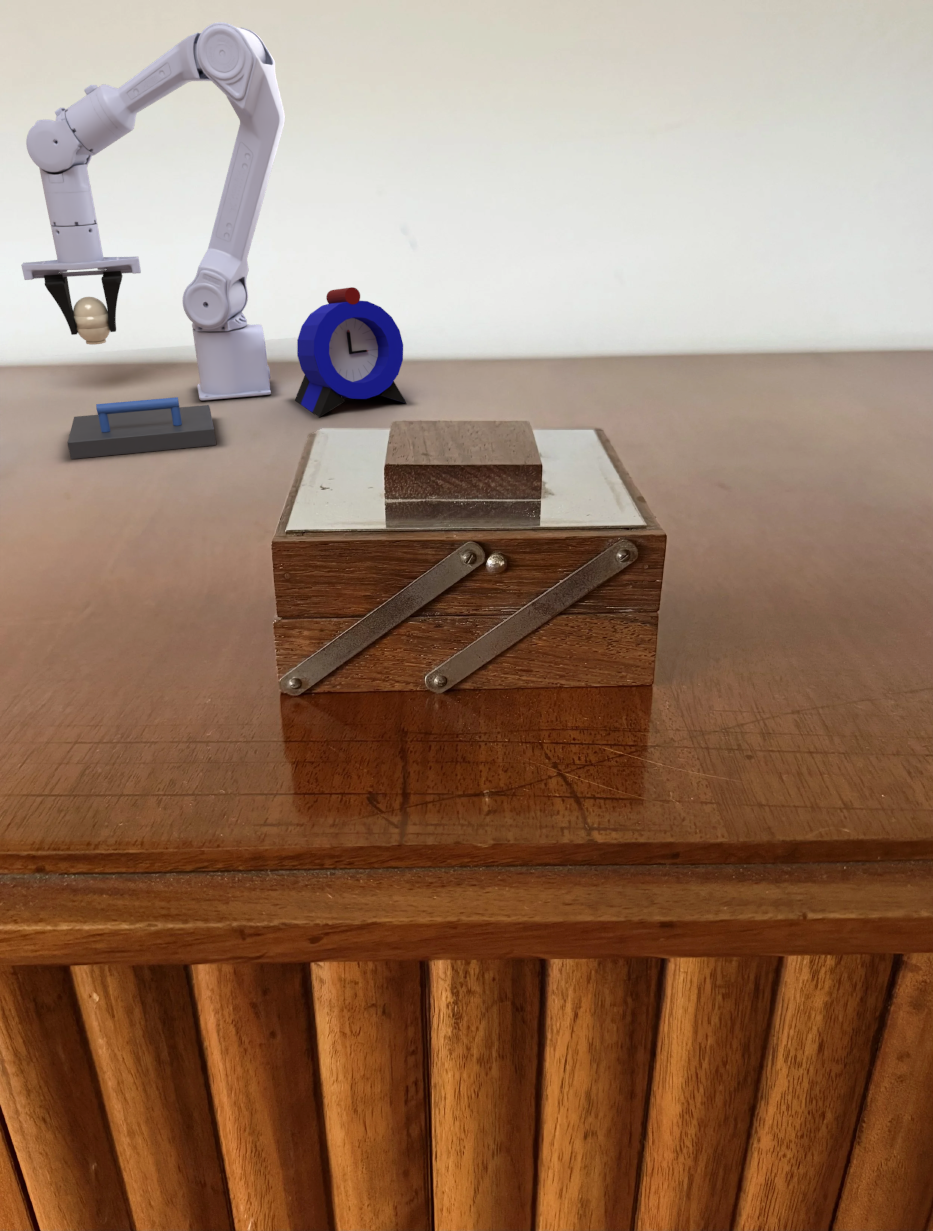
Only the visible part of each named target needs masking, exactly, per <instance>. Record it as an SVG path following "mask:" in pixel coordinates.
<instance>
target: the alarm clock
mask: <svg viewBox="0 0 933 1231" xmlns="http://www.w3.org/2000/svg"><path fill="white" fill-rule="evenodd" d="M325 300H326V302H327V304H323V305H321V306H319V307H318V308H316V309H315V310H314V311H312V312H310V313H309V315H308V316H307V318H306V319H305V321H304V322H303V324H302V325H301V327H300V330H299V333H298V336H297V342H296V343H297V344H296V348H297V349H296V352H297V353H296V354H297V359H298V362H299V365H300V369H301V372H302V373H303V374H304V376H303V378H302V381H301V384H300V386H299V388H298V391H297V393H296V396H295V399H294V401H295V402H296V403H298V404H299V405H301V406H302V407H303V408H305V409H307V410H308V411H309V412H311V413H312V414H313V415H315V416H317V417H318V418H321V417H322V416H324V415H325V414H327V413H328V412H331V411H332V410H334V409H335V408H337V407H339V406H340V405H342V404H343V403H345V402H346V399H353V400H354V399H355V400H367V399H370V398H373V397H376V396H380V397H383V398H387V399H390V400H394V401H397V402H400V403H403V404H406V405H407V404H408V403H407V401H406V400H405V398H404V396H403V394H402V392H401V390H400V389H399V387H398V385H397V384H396V382H395V380H396V378H397V377H398V375H399V374H400V370H401V367H402V364H403V361H404V342H403V337H402V334H401V331H400V328H399V327H398V325H397V323H396V322H395V320H394V318H393V317H392V316H391V315H390V314H389V313H388V312H387V311H386V310H385V309H384V308H382V306H380V305H377V304H375V303H372V302H370V301H368V300H361V293H360V291H359V289H358V288H356V287H351V286H350V287H344V288H336V289H331V290H329V291H328V292H327V294H326V298H325Z"/></svg>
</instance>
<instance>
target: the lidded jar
mask: <svg viewBox="0 0 933 1231" xmlns="http://www.w3.org/2000/svg"><path fill="white" fill-rule="evenodd" d="M73 315H74V320H75V325H76V329H77V332H78V333H77V335H79V337H80V338H81V339H82V340H83V341H85V344H86V345H92V346H93V345H94V346H95V345H103V344H106V343H107V339H108V337H109V335H110V333H111V332H110V328H109V320H108V310H107V305H105V303H104V302H102V300H100V299H99V298H98V297H97V298H96V297H94V296H84V297H81V298H80V299H78V300H77V301H76V302H75V304H74V306H73Z"/></svg>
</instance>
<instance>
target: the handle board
mask: <svg viewBox="0 0 933 1231" xmlns="http://www.w3.org/2000/svg"><path fill="white" fill-rule="evenodd" d="M95 407H96V414H90V415H77V416H73V420H72V424H71V426H70V427H71V428H70V431H69V435H68V439H67V447H68V451H69V452H68V453H69V456H70V460H78V459H87V458H88V459H89V458H99V457H108V456H110V457H111V456H120V455H130V454H131V455H132V454H139V453H141V454H142V453H149V452H161V451H171V450H181V449H192V448H202V447H211V446H216V445H217V441H216V432H215V427H214V421H213V416H212V412H211V406H210V405H209V404H203V405H192V406H191V405H190V406H181V407H180V401H179V397H177V396H176V397H175V396H174V397H165V398H153V399H142V400H140V399H139V400H128V401H117V402H107V403H106V402H105V403H96V405H95Z"/></svg>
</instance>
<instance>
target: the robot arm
mask: <svg viewBox="0 0 933 1231" xmlns="http://www.w3.org/2000/svg"><path fill="white" fill-rule="evenodd" d="M276 74H277V73H276V61H275V59H274V57H273V55H272V54H271V52H270V51H269V49H268V48H267V45H266V44H265V42H264V41H263V39H262V38H261V37H260V36H259V35H258V34H257V33H256V32H255V31H254V30H252V29H249V28H246V27H237V26H235V25H234V24H232V23H228V22H224V21H218V22H213V23H211V24H209V25H207V26H206V27H205V28H204V29H203V30H202V31H201V32H199V31H197V32H195V33H192V34H190V35H188V36H186V37H185V38H183V39H182V40H181V41H179V42H178V43H177V44H175V45H174V46H173V47H171V48H170V49H168V50H167V51H166V52H164V53H163V54H162V55H160V56H159V57H158V58H156V59H155V60H154V61H152V62H151V63H149V65H147V66H146V67H145V68H143V69H142V70H141V71H139V72H138V73H136V75H134V76H133V77H132V78H131V77H130V79H129V80H128V81H126V82H125V83H123V84H122V85H121V86H119V87H115V86H112V85H109V84H106V83H105V84H104V83H103V84H101V85H99V86H98V85H97V84H90V85H88V86H87V87H85V88H84V89H83V92H84V93H85V96H83V97H81V98H80V99H78V100H77V101H76V102H74V103H73V104H71V105H70V106H68V107H67V108H65V107H59V108H57V109H56V110H55V111H54V114H55V120H53V119H46V118H45V119H44V118H43V119H38V120H37V121H35V123H34V125H33V126H32V127H31V128H30V129H29V130H28V132H27V135H26V138H25V139H26V140H25V144H26V151H27V153H28V156H29V157H30V160H32V162H33V163H34V164H35V165H36V166H37V167H38V168H39V174H40V179H41V183H42V189H43V194H44V200H45V204H46V209H47V214H48V219H49V224H50V229H51V235H52V240H53V245H54V250H55V254H56V255H55V256H56V258H57V259H50V260H42V261H41V260H40V261H30V262H29V261H28V262H27V261H25V262H23V263H22V264H21V271H22V274H23V275H22V276H23V280H24V281H29V280H30V281H32V280H37V279H44V287H45V288H46V290H47V291H48V292H49V294H50V295H51V297H52V298H53V300H54V301H55V303H56V304H57V306H58V307H59V309H60V311H61V313H62V314H63V316H64V319H65V321H66V324H67V325H68V328H69V331H70V334H71V335H72V336H76V335H78V332H77V329H76V325H75V320H74V315H73V309H74V307H73V303H72V299H71V293H70V287H69V280H68V278H69V277H71V278H72V277H86V276H87V277H88V276H100V275H101V278H100V279H101V285H102V288H103V289H102V290H103V294H104V298H105V304H106V308H107V311H108V320H109V328H110V333H115V332H117V323H116V321H117V320H116V319H117V318H116V317H117V304H118V298H119V291H120V288H121V284H122V281H123V276H124V275H123V274H134V275H135V274H141V273H142V269H141V262H140V257H139V256H104V253H103V248H102V241H101V236H100V231H99V224H98V219H97V215H96V208H95V203H94V198H93V192H92V186H91V185H92V184H91V181H90V176H89V171H88V166H89V164H90V162H91V160H92V157H93V156H96V155H97V154H99V153H100V152H102V151H103V150H105V149H107V148H108V147H110V146H111V145H112V144H114V143H115V142H117V141H118V140H120V139H122V138H123V137H124V136H126V135H128V134H129V133H131V132H132V131H133V130H134V129H135V125H136V119H137V115H138V113H139V112H141V111H143V110H145V109H146V108H148V107H149V106H151V105H153V104H155V103H156V102H157V101H160V100H161V99H163V98H164V97H166V96H168V95H170V94H171V93H174V92H175V91H177V90H178V89H180V88H181V87H183V86H185V85H186V84H188V83H191V82H212V83H213V84H214V85H215V86H216V87H217V88H218V89H219V90H220V91H221V92H222V94H224V95H225V96H226V99H227V100H228V102H229V103H230V105H231V107H232V109H233V111H234V112H235V114H236V116H237V118H238V120H239V125H238V131H237V135H236V139H235V142H234V146H233V149H232V153H231V158H230V162H229V164H228V169H227V173H226V176H225V180H224V185H223V188H222V193H221V196H220V201H219V203H218V208H217V212H216V216H215V220H214V224H213V228H212V232H211V236H210V239H209V243H208V247H207V250H206V251H205V253H204V255H203V257H202V259H201V260H200V263H199V265H198V267H197V271H196V275H195V276H194V279H193V280H192V281H190V283H189V284H188V285H187V286H186V287H185V289H184V291H183V295H182V307H183V312H184V313H185V315H186V317H187V319H188V320H189V321H190V322H192V323H191V328H192V335H193V343H194V350H195V356H196V364H197V372H198V379H199V383H198V384H197V385H196V386H197V392H198V399H199V401H212V400H223V399H236V398H246V397H259V396H260V397H261V396H269V395H271V394H272V391H271V384H270V379H271V371H270V366H269V364H268V357H267V348H266V347H267V346H266V340H265V333H264V328H263V325H262V324H261V323H260V324H259V323H258V324H257V323H256V324H248V320H247V318H246V316H245V315H244V313H243V311H244V310H245V308H246V307H247V305H248V300H249V291H248V286H247V279H248V274H249V263H248V257H249V253H250V251H251V250H250V249H251V246H252V242H253V239H254V236H255V232H256V229H257V228H256V227H257V223H258V220H259V217H260V213H261V210H262V205H263V204H264V200H265V196H266V191H267V188H268V184H269V181H270V177H271V173H272V170H273V167H274V163H275V159H276V155H277V152H278V148H279V144H280V141H281V138H282V133H283V131H284V127H285V122H286V121H285V120H286V114H285V108H284V104H283V101H282V100H283V99H282V95H281V92H280V87H279V83H278V79H277V75H276ZM94 269H97V270H94Z"/></svg>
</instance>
